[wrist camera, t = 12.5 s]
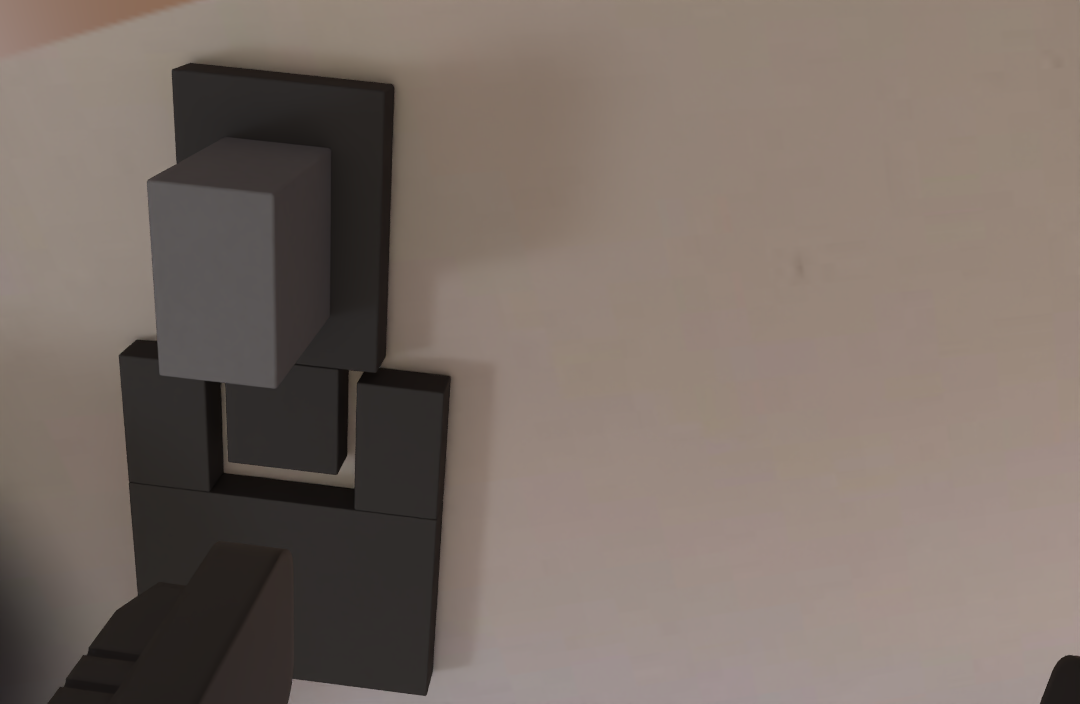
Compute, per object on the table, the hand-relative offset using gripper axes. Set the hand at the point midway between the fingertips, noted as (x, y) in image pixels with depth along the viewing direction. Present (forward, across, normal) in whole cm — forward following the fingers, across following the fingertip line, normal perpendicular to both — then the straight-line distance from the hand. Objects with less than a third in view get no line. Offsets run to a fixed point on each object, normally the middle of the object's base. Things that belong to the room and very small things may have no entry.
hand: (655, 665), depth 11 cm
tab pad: (+26, +12, +6) cm, 29 cm away
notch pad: (+26, +12, +16) cm, 33 cm away
